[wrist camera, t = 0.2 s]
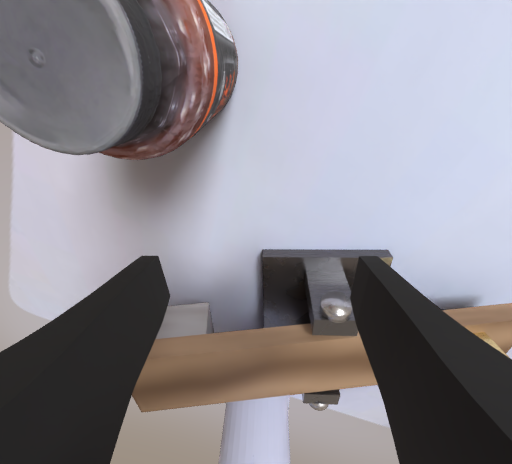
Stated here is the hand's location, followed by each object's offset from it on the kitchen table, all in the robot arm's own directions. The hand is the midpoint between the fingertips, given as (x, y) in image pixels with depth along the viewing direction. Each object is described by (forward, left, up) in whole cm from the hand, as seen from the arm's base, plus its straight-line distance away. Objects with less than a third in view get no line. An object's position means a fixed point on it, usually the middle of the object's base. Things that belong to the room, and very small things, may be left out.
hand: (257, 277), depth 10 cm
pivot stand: (-13, -5, -10) cm, 17 cm away
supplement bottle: (+7, +4, -10) cm, 13 cm away
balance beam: (-13, -4, -9) cm, 16 cm away
